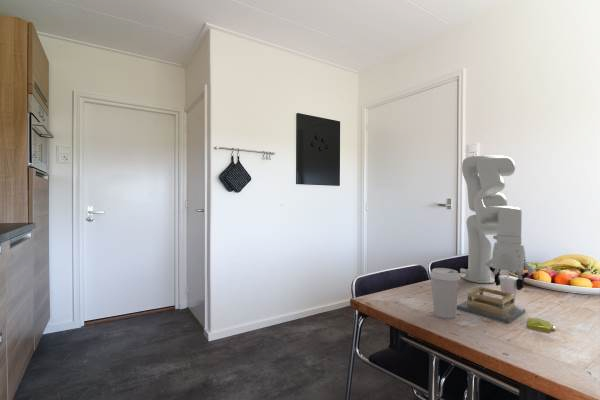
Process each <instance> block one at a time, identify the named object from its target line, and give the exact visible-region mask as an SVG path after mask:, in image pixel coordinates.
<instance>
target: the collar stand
mask: <svg viewBox="0 0 600 400" xmlns="http://www.w3.org/2000/svg"><path fill="white" fill-rule="evenodd" d="M484 292H485V293H487V294H492V295H496V296H497V295H498V296H501V298H498V297H493V296H489V295H484ZM502 296H505V297H504V298H502ZM466 299H467V300H466V301H464V302H462V303H459V304H456V310H459V311H463V312H467V313H470V314H474V315H477V316H481V317H485V318H488V319H491V320H495V321H499V322H502V323H506V324H510V323H511V322H513V321H514V320H515V319H517V318H519V317H520V316H522V315H523V314H525V313H526V308H524V307H522V306H517V305H515V303H516V297H515V294H511V293H506V292H502V291H501V290H496V289H492V288H488V287H483V286H480V287H477V288H475V289H473V290H470V291H468V292H467V298H466Z"/></svg>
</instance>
